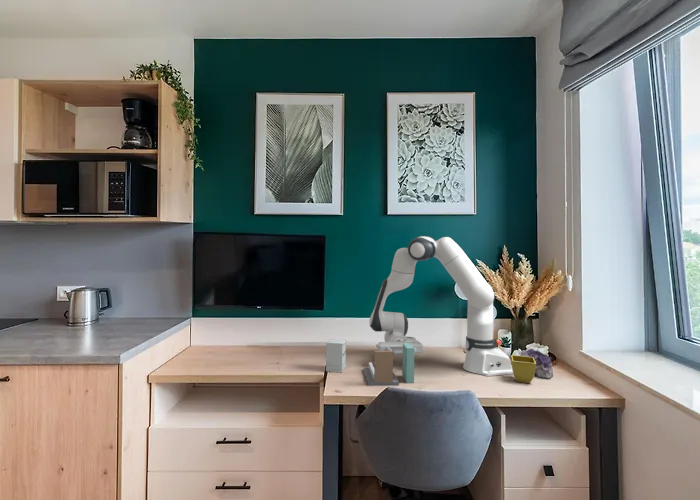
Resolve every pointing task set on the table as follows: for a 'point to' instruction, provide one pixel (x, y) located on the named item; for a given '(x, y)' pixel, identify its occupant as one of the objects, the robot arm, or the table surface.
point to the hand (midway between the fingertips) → (403, 352)
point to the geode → (540, 363)
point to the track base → (381, 370)
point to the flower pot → (523, 368)
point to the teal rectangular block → (408, 363)
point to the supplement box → (335, 355)
